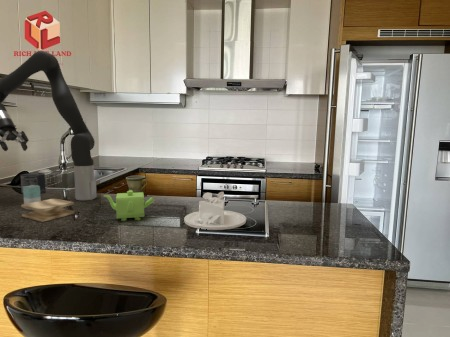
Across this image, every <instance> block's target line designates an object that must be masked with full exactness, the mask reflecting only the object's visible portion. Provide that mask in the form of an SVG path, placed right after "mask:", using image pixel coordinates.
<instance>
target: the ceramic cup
mask: <svg viewBox="0 0 450 337" xmlns="http://www.w3.org/2000/svg"><path fill="white" fill-rule="evenodd" d="M125 181H126V184H127V186H128V191H129V190H132V191H133V193H139V192H143V193H144V188H145V186H147V184H148V183H149V182H148V180H147V179H146V176H145V175H130V176H127V177H125Z"/></svg>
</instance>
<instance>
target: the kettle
mask: <svg viewBox="0 0 450 337" xmlns="http://www.w3.org/2000/svg"><path fill="white" fill-rule="evenodd" d="M103 197H104V198H106V199H107V200H108V201H109V204H110V206H111V209H113V210H114V211H116V212H115V215H116V220H117V219H118V220H119V219H120V221H121V222H126V221H128V219H130V218H131V219H133V218H134V220H135V221H141V218H144V217H145V209H146V208H147V207H149V206H150V205H152V204H153V203H155V199H154V197H152V196H151V197H150V198H148V199H147V200H146V201H145V195H144V191H143V192H139V193H133V191H132V190H129V189H128V190H127V191H126V192H122V193H121V192H120V193H116V197H115V202H114V200H113V198H112V197H111V195H108V194H106V195H103Z"/></svg>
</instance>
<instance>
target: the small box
mask: <svg viewBox="0 0 450 337" xmlns="http://www.w3.org/2000/svg"><path fill="white" fill-rule="evenodd" d="M45 175H46V174H45V173H24V174H20V175H19V177H20V189H21V190H20V191H21V194H22V195H23V187H24V186H30V185H37V186H40V194H43V193H46V192H47V191H46V190H47V189H46V176H45Z"/></svg>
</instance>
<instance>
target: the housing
mask: <svg viewBox="0 0 450 337" xmlns="http://www.w3.org/2000/svg"><path fill="white" fill-rule="evenodd" d="M22 195H23V204H28V203H33V202H38V201H42V200H41V199H42V198H41V193H40V186H37V185H30V186H24V187H23V194H22ZM25 209H26V210H30V211H31V209H27V208H24V210H25Z"/></svg>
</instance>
